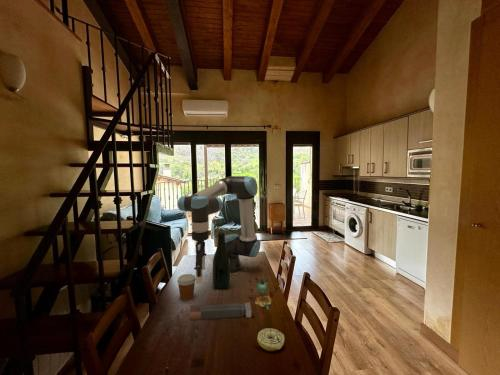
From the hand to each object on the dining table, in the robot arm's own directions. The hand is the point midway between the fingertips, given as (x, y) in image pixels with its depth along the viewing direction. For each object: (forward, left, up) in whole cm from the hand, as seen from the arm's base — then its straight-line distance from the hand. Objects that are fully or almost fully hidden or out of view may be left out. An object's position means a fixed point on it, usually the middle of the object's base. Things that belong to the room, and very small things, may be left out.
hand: (200, 276), depth 111 cm
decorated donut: (+19, +29, -21) cm, 40 cm away
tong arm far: (-1, +8, -19) cm, 21 cm away
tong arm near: (+1, +8, -19) cm, 21 cm away
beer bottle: (-29, +9, -21) cm, 37 cm away
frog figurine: (-10, +30, -21) cm, 38 cm away
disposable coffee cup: (-17, -9, -21) cm, 28 cm away
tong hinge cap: (0, +22, -20) cm, 29 cm away
